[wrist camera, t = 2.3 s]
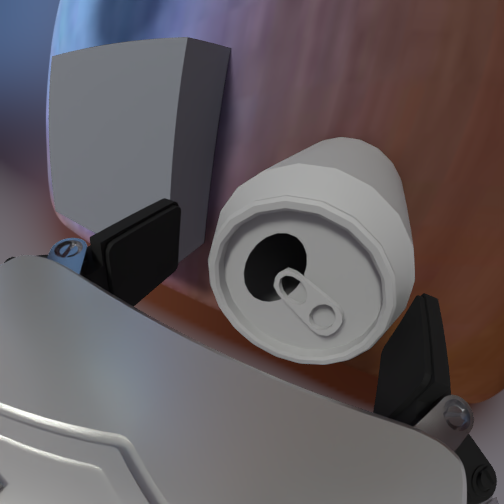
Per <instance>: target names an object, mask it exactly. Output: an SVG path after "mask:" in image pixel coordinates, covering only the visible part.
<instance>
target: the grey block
mask: <svg viewBox="0 0 504 504" xmlns="http://www.w3.org/2000/svg"><path fill="white" fill-rule="evenodd" d="M230 49H231V48H228V47H225V46H221V45H217V44H214V43H210V42H206V41H202V40H197V39H193V38H189V37H181V38H160V39H148V40H137V41H129V42H121V43H114V44H108V45H102V46H96V47H91V48H86V49H81V50H76V51H72V52H68V53H63V54H60V55H56V56H52V63H51V75H50V91H49V147H50V164H51V176H52V186H53V195H54V202H55V210H56V211H57V212H58V213H60V214H62V215H64V216H65V217H67V218H69V219H71V220H73V221H74V222H76V223H78V224H80V225H81V226H83V227H85V228H87V229H89V230H91V231H92V232H94V233H98V232H100V231H102V230H104V229H105V228H107V227H109V226H111V225H113V224H115V223H116V222H118V221H120V220H122V219H124V218H126V217H128V216H130V215H131V214H133V213H135V212H137V211H139V210H141V209H143V208H145V207H147V206H149V205H151V204H153V203H155V202H157V201H159V200H161V199H163V198H166V199H169V200H172V201H175V202H177V203H178V205H179V207H180V208H181V222H180V238H179V257H178V263H179V262H180V261H182V260H183V259H184V258H185V257H187V256H188V255H189V254H190V253H192V252H193V251H194V250H195V249H197V248H198V247H199V246H201V245H202V244H203V243H204V239H205V228H206V219H207V209H208V200H209V191H210V183H211V175H212V167H213V159H214V151H215V144H216V136H217V129H218V122H219V116H220V109H221V103H222V96H223V90H224V84H225V78H226V72H227V66H228V61H229V55H230Z"/></svg>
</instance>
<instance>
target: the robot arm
mask: <svg viewBox="0 0 504 504" xmlns="http://www.w3.org/2000/svg"><path fill="white" fill-rule="evenodd" d="M180 222H181V208H180V207H179V205H178V203H177V202H175V201H172V200H169V199H166V198H163V199H161V200H159V201H157V202H155V203H153V204H151V205H149V206H147V207H145V208H143V209H141V210H139V211H137V212H135V213H133V214H131V215H130V216H128V217H126V218H124V219H122V220H120V221H118V222H116V223H115V224H113V225H111V226H109V227H107V228H105V229H104V230H102V231H100V232H98V233H96V234H95V235H93V236H91V237H90V243H91V245H90V246H88V247H87V244H86V243H85V241H83V240H81V239H78V238H68V239H64V240H61V241H59V242H57V243H56V244H55V245H53V247H52V248H51V250H50V252H49V255H39V256H32V255H24V256H23V255H22V256H18V257H11V258H9V259H7V260H6V262H4V263H3V264H1V265H0V504H498V500H497V497H495V498H492V495H493V493H494V491H495V488H496V482H497V480H496V474H495V471H494V469H493V467H492V466H491V464H490V463H489V462H488V460H487V459H486V457H485V456H484V454H483V453H482V452H481V450H480V449H479V447H478V446H477V445H476V443H475V442H474V440H473V439H472V438H471V436H470V435H469V432H470V431H471V429H472V427H473V423H474V417H473V412H472V410H471V408H470V406H469V405H468V403H467V402H466V401H465V400H463V399H462V398H460V397H458V396H455V395H451V390H450V376H449V366H448V357H447V350H446V342H445V336H444V330H443V324H442V318H441V313H440V307H439V303H438V299H437V298H435V297H432V296H430V295H427V294H425V293H424V294H422V295H421V296H419V295H418V296H416V297H415V299H414V301H413V302H412V304H411V306H410V307H409V309H408V311H407V312H406V314H405V316H404V317H403V319H402V320H401V322H400V324H399V325H398V327H397V328H396V330H395V331H394V333H393V334H392V336H391V337H390V339H389V340H388V342H387V343H386V345H385V346H384V348H383V351H382V354H381V361H380V370H379V378H378V386H377V393H376V399H375V405H374V412H373V413H372V412H369V411H366V410H363V409H360V408H357V407H354V406H351V405H348V404H346V403H343V402H340V401H337V400H334V399H332V398H329V397H326V396H323V395H320V394H318V393H315V392H312V391H310V390H307V389H305V388H302V387H300V386H297V385H294V384H292V383H289V382H287V381H284V380H282V379H279V378H277V377H275V376H272V375H270V374H268V373H265V372H263V371H261V370H258V369H256V368H254V367H252V366H249V365H247V364H245V363H243V362H240V361H238V360H236V359H234V358H232V357H229V356H227V355H225V354H223V353H221V352H219V351H216V350H215V349H213V348H210V347H209V346H206V345H204V344H202V343H200V342H198V341H196V340H194V339H192V338H190V337H188V336H187V335H185V334H183V333H181V332H179V331H177V330H175V329H173V328H171V327H169V326H168V325H166V324H164V323H162V322H160V321H158V320H156V319H155V318H153V317H151V316H149V315H147V314H146V313H144V312H142V311H140V310H138V309H137V308H135V307H134V306H135V305H136V304H137V303H138V302H139V301H141V299H143V298H144V297H145V296H146V295H148V294H149V293H150V292H151V291H152V290H153V289H154V288H156V287H157V286H158V285H159V284H160V283H162V282H163V281H164V280H165V279H166V278H167V277H169V276H170V275H171V274H172V273H173V272H174V271H175V270H176V269H177V266H178V257H179V238H180Z"/></svg>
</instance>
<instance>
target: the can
mask: <svg viewBox="0 0 504 504" xmlns="http://www.w3.org/2000/svg"><path fill="white" fill-rule="evenodd" d="M208 266H209V277H210V285H211V288H212V290H213V293H214V295H215V298H216V300H217V303H218V305H219V307H220V309H221V310H222V311H223V313H224V314H225V316H226V317H227V318H228V320H229V321H230V322H231V324H232V325H233V326H234V328H235V329H236V330H238V331H239V332H240V333H241V334H242V335H243V336H245V337H246V338H247V339H248V340H249V341H250V342H251V343H253V344H254V345H256V346H258V347H260V348H261V349H263V350H265V351H267V352H269V353H270V354H272V355H274V356H276V357H280V358H283V359H286V360H290V361H293V362H297V363H303V364H321V365H326V364H331V363H336V362H341V361H346V360H350V359H352V358H354V357H356V356H357V355H359V354H361V353H363V352H365V351H367V350H368V349H370V348H372V346H373V345H374V344H375V343H376V342H377V341H378V340H379V339H380V338H381V336H382V335H383V334H384V333H385V332H386V331H387V330H388V328H389V327H390V326H391V325H392V324H393V323H394V321H395V320H396V319H397V318H398V317H399V315H400V314H401V313H402V312H403V310H404V309H405V308H406V305H407V302H408V299H409V296H410V293H411V290H412V287H413V284H414V281H415V268H414V249H413V241H412V235H411V228H410V222H409V216H408V211H407V206H406V201H405V196H404V191H403V186H402V182H401V179H400V177H399V175H398V173H397V171H396V169H395V167H394V165H393V163H392V162H391V161H390V160H389V159H388V158H387V157H386V156H385V155H384V154H383V153H382V152H381V151H380V150H379V149H378V148H376V147H374V146H372V145H370V144H368V143H366V142H364V141H362V140H359V139H352V138H345V137H339V138H333V139H328V140H323V141H321V142H319V143H317V144H315V145H313V146H311V147H309V148H307V149H305V150H303V151H301V152H299V153H297V154H295V155H293V156H291V157H289V158H287V159H285V160H283V161H281V162H279V163H277V164H276V165H274V166H272V167H270V168H268V169H266V170H264V171H263V172H261V173H259V174H258V175H256V176H255V177H253V178H252V179H250V180H249V181H247V182H246V183H244V184H242V185H241V186H239V187H238V188H237V189H236V191H235V192H234V193H233V195H232V196H231V197H230V199H229V200H228V202H227V203H226V204H225V206H224V207H223V209H222V210H221V212H220V216H219V220H218V224H217V227H216V231H215V235H214V239H213V243H212V246H211V250H210V254H209V258H208Z"/></svg>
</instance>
